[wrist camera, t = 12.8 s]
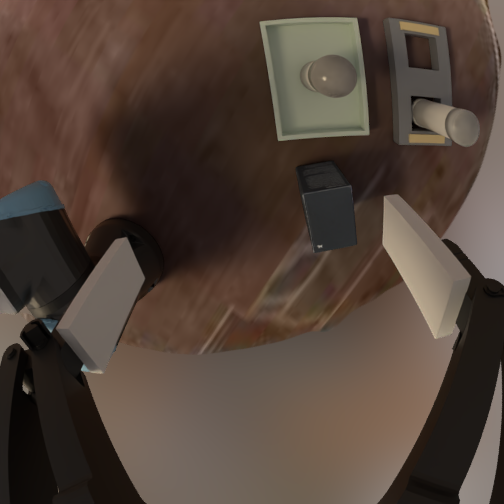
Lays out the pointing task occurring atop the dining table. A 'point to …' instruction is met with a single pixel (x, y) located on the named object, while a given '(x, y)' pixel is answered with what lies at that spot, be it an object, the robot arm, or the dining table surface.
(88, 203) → the dining table surface
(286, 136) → the parts tray
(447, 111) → the fuse
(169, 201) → the dining table surface
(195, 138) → the dining table surface
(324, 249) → the box
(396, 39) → the fuse holder
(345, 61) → the cylinder
